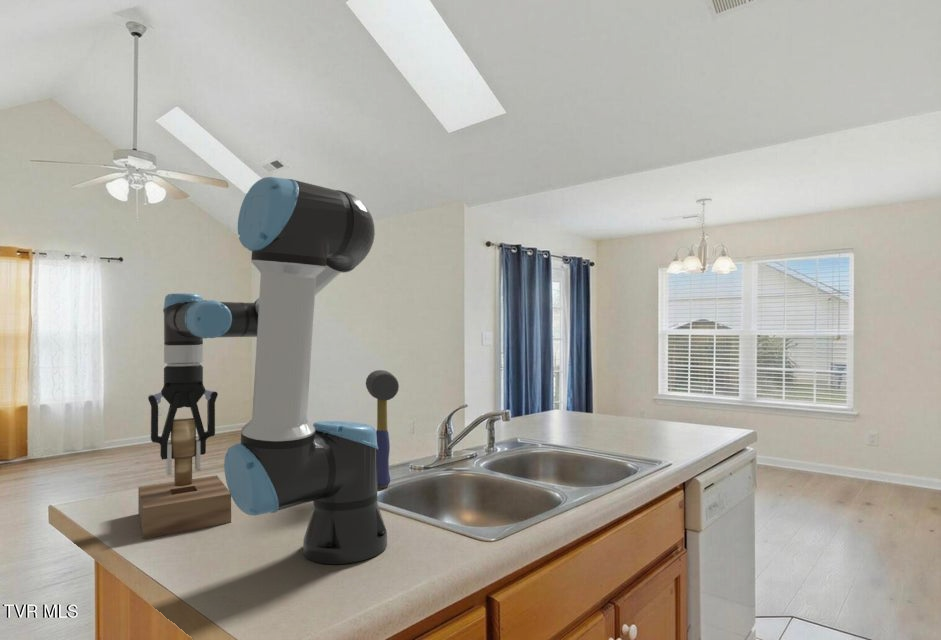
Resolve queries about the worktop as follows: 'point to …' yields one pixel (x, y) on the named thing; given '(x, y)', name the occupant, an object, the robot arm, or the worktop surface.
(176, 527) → the socket block
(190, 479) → the peg
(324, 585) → the worktop surface
